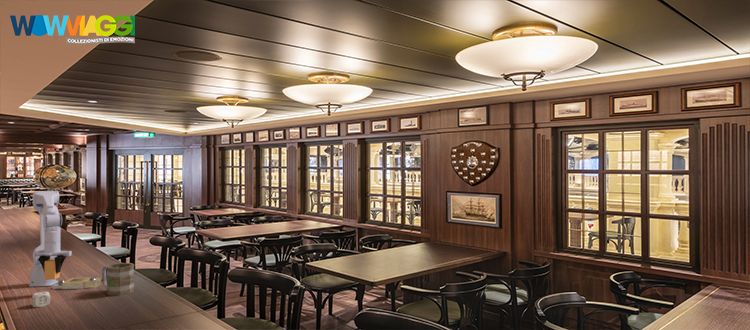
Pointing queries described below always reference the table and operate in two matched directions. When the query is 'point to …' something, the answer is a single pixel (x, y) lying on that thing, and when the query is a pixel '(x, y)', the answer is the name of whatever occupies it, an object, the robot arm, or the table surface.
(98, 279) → the square frame connector
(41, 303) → the die
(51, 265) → the orange rectangular peg
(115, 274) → the mug
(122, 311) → the table surface
